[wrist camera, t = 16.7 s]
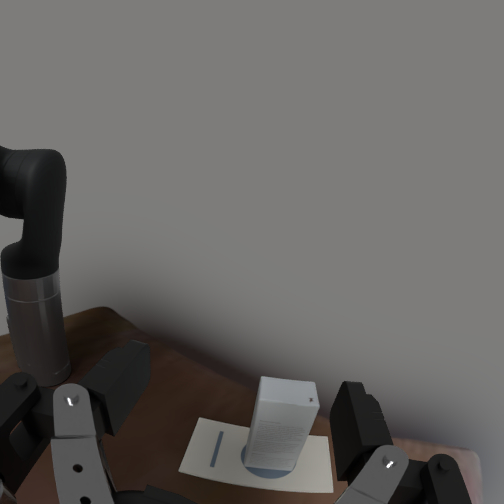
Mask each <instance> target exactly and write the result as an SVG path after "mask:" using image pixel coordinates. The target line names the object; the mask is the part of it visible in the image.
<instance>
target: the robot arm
mask: <svg viewBox="0 0 504 504" xmlns="http://www.w3.org/2000/svg"><path fill="white" fill-rule="evenodd" d="M66 179H67V177H66V166H65V162H64V159H63V157H62V155H61V154H60V153H59V152H57V151H56V150H52V149H32V150H11V149H7V148H4V147H2V146H0V215H3V216H5V217H8V218H16V219H24V223H23V234H22V239H21V240H20V241H19V242H16V243H13V244H10V245H8V246H7V247H5V248H4V249H3V250H2V252H1V270H2V279H3V287H4V293H5V300H6V306H7V312H8V315H7V323H8V328H9V333H10V337H11V341H12V345H13V349H14V353H15V356H16V360H17V363H18V367H19V368H21V370H22V372H19V373H15V374H13V375H11V376H10V377H9V378H8V379H6V380H5V381H4V382H3V383H2V384H1V385H0V504H17V500H16V497H15V493H16V491H17V490H18V488H19V487H20V485H21V484H22V482H23V481H24V479H25V478H26V476H27V475H28V473H29V472H30V470H31V469H32V467H33V466H34V464H35V463H36V461H37V460H38V459H39V457H40V456H41V454H42V453H43V451H44V450H45V449H46V447H47V446H48V444H49V443H50V441H51V449H52V459H53V467H54V474H55V480H56V486H57V492H58V497H59V502H60V504H197V503H195V502H193V501H191V500H189V499H187V498H185V497H183V496H181V495H179V494H175V493H172V492H169V491H165V490H162V489H159V488H156V487H153V486H150V485H147V486H146V489H145V491H136V490H128V491H118V492H117V489H116V486H115V484H114V481H113V478H112V475H111V472H110V469H109V465H108V462H107V458H106V454H105V451H104V447H103V443H102V439H101V438H102V437H103V435H104V434H105V433H107V434H110V435H112V436H115V435H116V433H117V432H118V430H119V429H120V427H121V425H122V424H123V422H124V421H125V419H126V418H127V416H128V415H129V413H130V411H131V410H132V408H133V407H134V405H135V404H136V402H137V401H138V399H139V398H140V396H141V395H142V393H143V391H144V390H145V388H146V387H147V385H148V383H149V380H150V347H149V345H148V344H146V343H142V342H139V341H136V340H130V341H129V342H128V343H127V344H126V345H125V346H124V347H123V348H120V347H117V348H115V349H113V350H110V351H108V352H107V353H106V354H105V355H104V356H103V357H102V359H101V360H99V361H98V363H97V364H96V365H95V366H94V367H93V368H92V369H91V370H90V371H89V372H88V373H87V374H86V375H85V376H84V377H83V378H82V379H81V380H80V381H79V382H78V383H77V384H64V385H61V386H60V387H58V388H57V389H56V390H52V389H48V388H44V387H39V386H45V387H48V386H54V385H57V384H59V383H62V382H63V381H64V380H66V379H67V378H68V377H69V375H70V373H71V364H70V359H69V353H68V347H67V341H66V335H65V328H64V320H63V312H62V303H61V293H60V280H59V253H60V247H61V241H62V222H63V211H64V202H65V192H66ZM20 420H21V421H22V422H21V423H20V424H19V425H18V426H17V428H16V429H15V430H14V431H13V432H12V434H11V435H10V433H11V431H12V430H13V428H14V427H15V426H16V425H17V424H18V423H19V421H20ZM330 427H331V434H332V441H333V448H334V456H335V464H336V472H337V480H338V481H347V482H348V487H347V488H346V489H345V491H344V492H343V493H342V494H341V496H340V497H339V498H338V499H337V500H336V502H335V503H334V504H472V503H471V500H470V497H469V494H468V491H467V488H466V485H465V483H464V480H463V477H462V475H461V472H460V469H459V467H458V464H457V462H456V461H455V460H454V459H453V458H452V457H451V456H449V455H446V454H436V455H434V456H432V457H431V458H430V460H429V461H428V462H423V461H416V460H411V459H408V456H407V454H406V453H405V452H404V451H403V450H402V449H401V448H399V447H396V446H394V445H393V442H392V439H391V436H390V433H389V430H388V427H387V425H386V422H385V421H384V416H383V414H382V411H381V408H380V405H379V403H378V401H376V399H375V398H374V397H373V396H372V395H369V394H366V392H365V389H364V386H363V384H362V383H361V382H349V381H344V382H343V383H342V385H341V387H340V389H339V392H338V394H337V396H336V399H335V401H334V403H333V406H332V408H331V412H330Z"/></svg>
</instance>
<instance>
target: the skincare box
mask: <svg viewBox="0 0 504 504" xmlns="http://www.w3.org/2000/svg"><path fill="white" fill-rule="evenodd" d="M319 407H320V405H319V401H318V396H317V391H316V386H315V383H314V382H307V381H296V380H287V379H279V378H271V377H264V376H262V377H261V379H260V383H259V388H258V393H257V398H256V403H255V408H254V413H253V417H252V422H251V426H250V431H249V435H248V439H247V445H246V451H245V458H244V466H245V467H253V468H262V469H272V470H285V471H292V470H293V468H294V466H295V464H296V462H297V459H298V457H299V455H300V453H301V451H302V448H303V446H304V444H305V442H306V439H307V437H308V434H309V432H310V430H311V427H312V425H313V422H314V419H315V417H316V415H317V412H318V410H319Z"/></svg>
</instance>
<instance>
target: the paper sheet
mask: <svg viewBox="0 0 504 504" xmlns="http://www.w3.org/2000/svg"><path fill="white" fill-rule="evenodd" d="M249 431H250V428H248V427H242V426H237V425H232V424H227V423H222V422H217V421H213V420H208V419H204V418H200V417H199V420H198V422H197V425H196V427H195V430H194V432H193V435H192V438H191V440H190V443H189V445H188V448H187V450H186V453H185V455H184V458H183V461H182V463H181V466H180V468H179V472H182V473H186V474H189V475H193V476H197V477H201V478H205V479H210V480H214V481H219V482H224V483H229V484H234V485H240V486H246V487H253V488H261V489H269V490H279V491H291V492H310V493H333V482H332V472H331V463H330V454H329V445H328V437H326V436H311V435H308V437H307V439H306V442H305V444H304V446H303V448H302V451H301V453H300V455H299V457H298V459H297V462H296V464H295V466H294V468H293V470H292V471H285V470H272V469H262V468H253V467H245V466H244V458H245V451H246V445H247V439H248V435H249Z"/></svg>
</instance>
